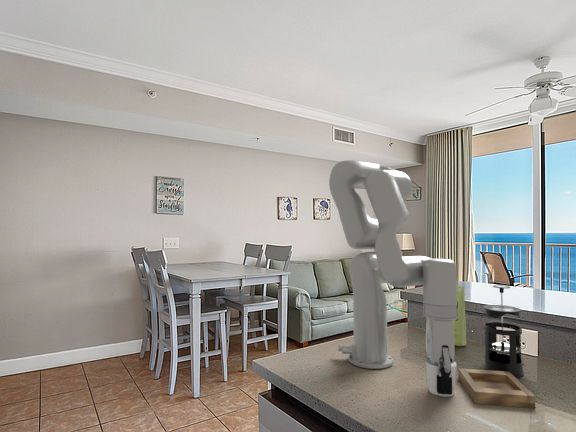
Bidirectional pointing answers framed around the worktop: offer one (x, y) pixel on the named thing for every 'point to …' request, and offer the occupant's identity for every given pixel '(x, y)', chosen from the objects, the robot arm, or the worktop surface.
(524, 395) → the tray
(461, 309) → the tube
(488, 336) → the french press
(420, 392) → the worktop surface
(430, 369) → the white tapered cylinder
